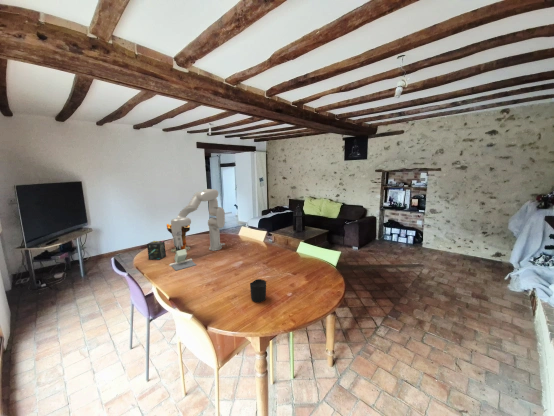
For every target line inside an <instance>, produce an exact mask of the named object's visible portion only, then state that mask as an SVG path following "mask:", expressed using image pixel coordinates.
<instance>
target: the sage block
mask: <svg viewBox="0 0 554 416" xmlns="http://www.w3.org/2000/svg"><path fill="white" fill-rule="evenodd" d="M187 255H188V253H187V250H185V249H183V250H178V251H176V252H175V255H174V259H173V260H174V261H175V262H174V263H176V262H180V261H184V260H187Z"/></svg>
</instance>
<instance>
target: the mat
mask: <svg viewBox="0 0 554 416" xmlns="http://www.w3.org/2000/svg"><path fill="white" fill-rule="evenodd" d="M195 266H197V263H195V262H194V261H193V260H192V261H187V262H183V263H179V264H176V265H172V266H171V268H172V269H173V270H174V271H176V272H177V271H181V270H184V269H188V268H191V267H192V268H193V267H195Z"/></svg>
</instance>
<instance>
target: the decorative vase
mask: <svg viewBox="0 0 554 416" xmlns="http://www.w3.org/2000/svg"><path fill="white" fill-rule="evenodd" d="M166 230H167V231H168V232H169V233H170V234H171V235H172V228H171V224H169V223H166ZM181 230H182V235H181V236H182V242H183V246H181V250H183V249H185V250H186V251H188V250H191V247H190V246H187V239H186V236H187V233H188V232H190V230H191V224H190V225H188V226H182V227H181ZM173 246H174V247H173V248H172V249H170V252H172V253H176V246H175V245H174V244H173Z"/></svg>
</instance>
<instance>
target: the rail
mask: <svg viewBox="0 0 554 416" xmlns="http://www.w3.org/2000/svg"><path fill="white" fill-rule="evenodd" d="M187 261H193V258H189V259H185V260H184V261H180V262H173V263H169V267H171V268H172V265H176V264H179V263H183V262H187Z"/></svg>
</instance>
